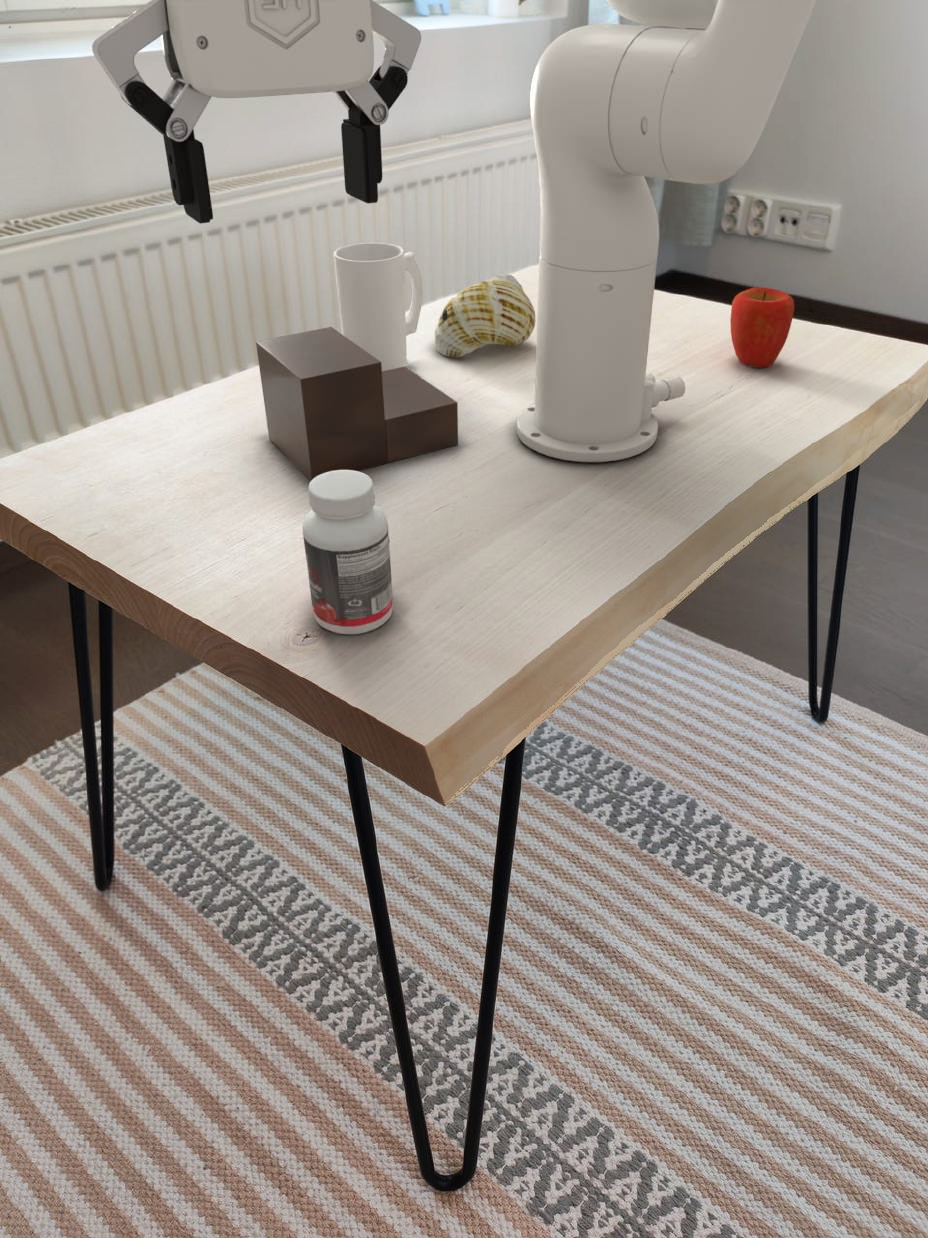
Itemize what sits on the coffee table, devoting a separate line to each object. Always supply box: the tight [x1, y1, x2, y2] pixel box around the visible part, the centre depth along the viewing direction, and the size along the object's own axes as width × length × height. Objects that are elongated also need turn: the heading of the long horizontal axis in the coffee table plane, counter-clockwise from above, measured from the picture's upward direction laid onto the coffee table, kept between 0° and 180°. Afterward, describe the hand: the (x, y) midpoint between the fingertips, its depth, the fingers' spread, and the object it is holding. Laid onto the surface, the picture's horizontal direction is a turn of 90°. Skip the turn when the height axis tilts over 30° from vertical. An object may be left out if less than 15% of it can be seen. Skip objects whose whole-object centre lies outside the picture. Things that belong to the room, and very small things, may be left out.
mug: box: [333, 242, 424, 371], centre depth 99 cm, size 10×7×12 cm, turn 134°
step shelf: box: [255, 326, 459, 482], centre depth 85 cm, size 14×10×9 cm
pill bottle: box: [302, 470, 394, 635], centre depth 63 cm, size 5×5×10 cm
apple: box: [729, 286, 795, 369], centre depth 100 cm, size 6×6×8 cm
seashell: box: [434, 273, 536, 358], centre depth 105 cm, size 10×10×10 cm
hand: (283, 207), depth 55 cm, fingers open, 9 cm apart
